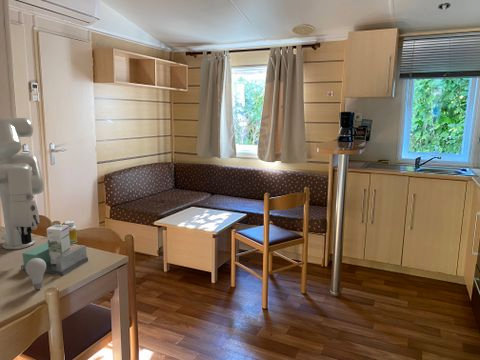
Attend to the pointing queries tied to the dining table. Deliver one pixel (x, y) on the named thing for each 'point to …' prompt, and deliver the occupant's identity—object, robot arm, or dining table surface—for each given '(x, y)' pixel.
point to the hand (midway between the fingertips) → (26, 242)
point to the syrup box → (58, 241)
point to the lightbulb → (36, 271)
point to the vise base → (54, 268)
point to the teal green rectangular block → (37, 254)
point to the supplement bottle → (72, 231)
